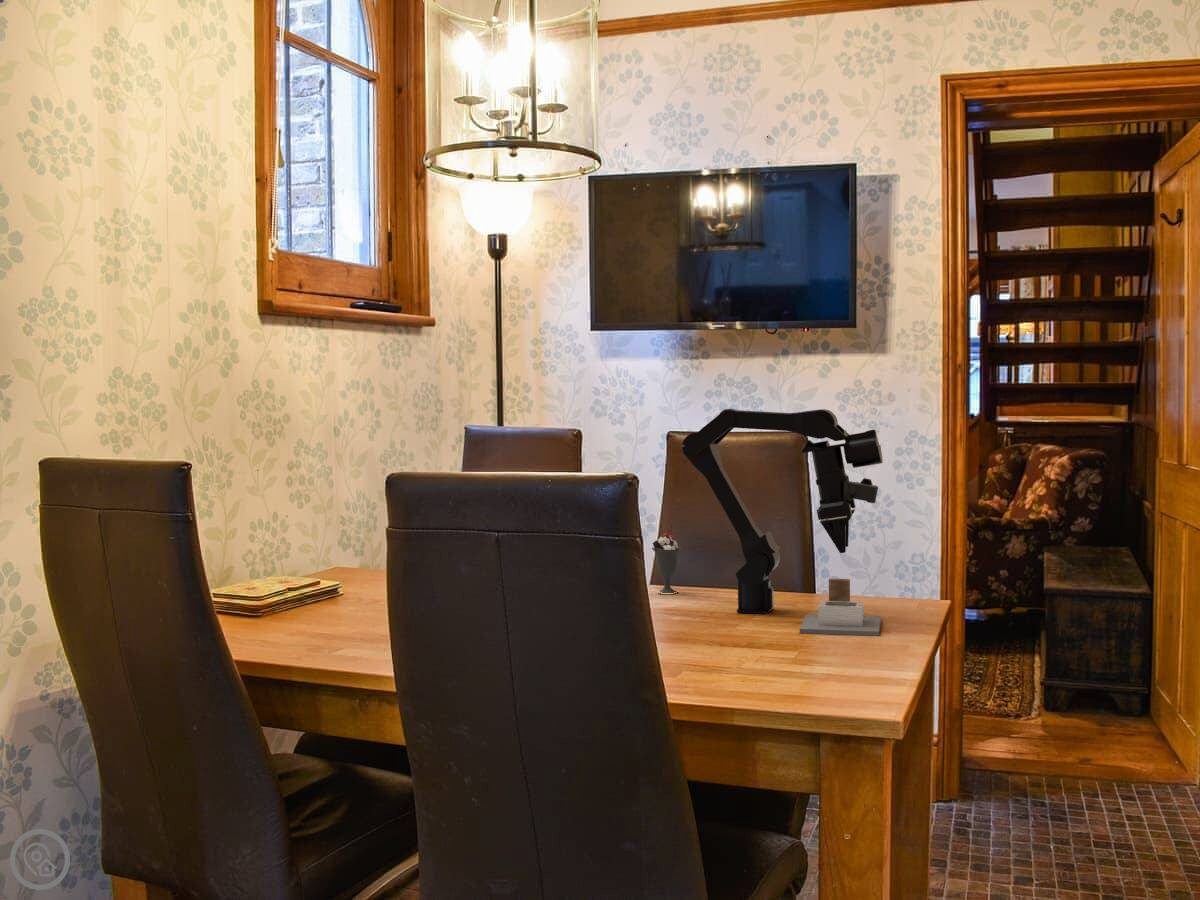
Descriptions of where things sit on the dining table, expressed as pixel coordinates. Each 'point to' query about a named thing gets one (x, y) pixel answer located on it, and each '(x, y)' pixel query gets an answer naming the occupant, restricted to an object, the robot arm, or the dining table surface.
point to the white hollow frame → (841, 613)
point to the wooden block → (839, 589)
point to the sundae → (666, 558)
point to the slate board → (841, 627)
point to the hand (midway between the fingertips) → (844, 549)
